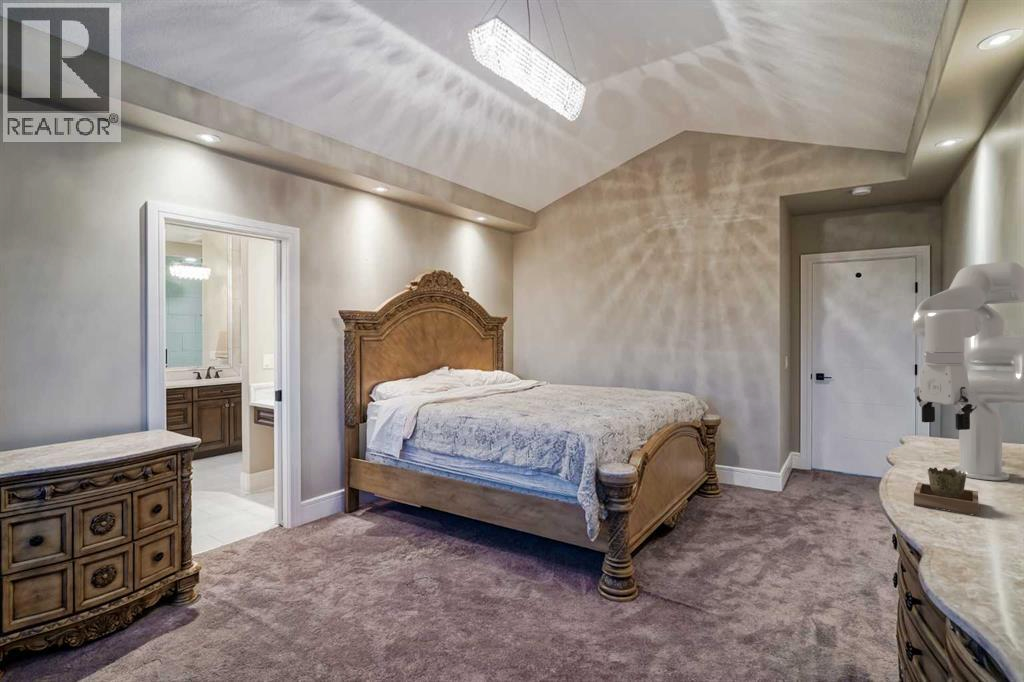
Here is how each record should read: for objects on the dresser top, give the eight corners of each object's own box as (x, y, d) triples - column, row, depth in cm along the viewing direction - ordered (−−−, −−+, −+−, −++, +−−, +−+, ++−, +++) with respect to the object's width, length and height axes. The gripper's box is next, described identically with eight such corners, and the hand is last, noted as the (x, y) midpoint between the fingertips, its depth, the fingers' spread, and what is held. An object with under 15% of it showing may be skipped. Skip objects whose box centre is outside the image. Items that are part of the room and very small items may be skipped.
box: (917, 493, 138) (917, 482, 138) (977, 503, 130) (977, 491, 130) (913, 505, 129) (913, 493, 129) (978, 516, 121) (978, 503, 121)
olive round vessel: (934, 505, 127) (934, 473, 127) (922, 496, 134) (922, 465, 134) (972, 508, 124) (972, 475, 124) (958, 499, 131) (958, 468, 131)
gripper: (902, 357, 139) (903, 420, 140) (962, 362, 122) (962, 433, 122) (928, 356, 140) (929, 418, 140) (991, 360, 122) (992, 431, 123)
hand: (944, 425), depth 131 cm, fingers open, 9 cm apart
